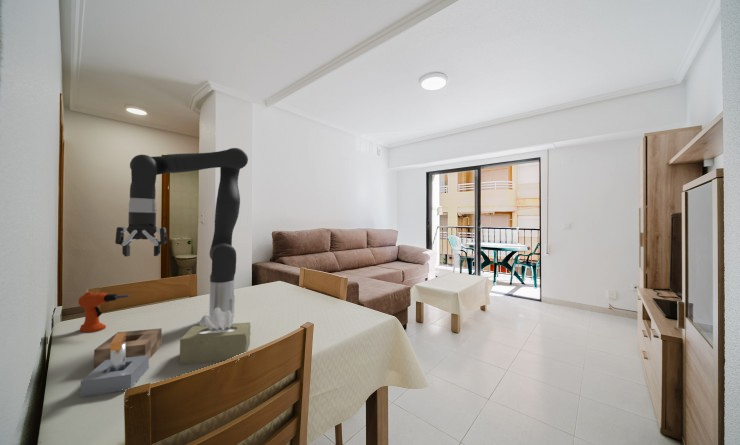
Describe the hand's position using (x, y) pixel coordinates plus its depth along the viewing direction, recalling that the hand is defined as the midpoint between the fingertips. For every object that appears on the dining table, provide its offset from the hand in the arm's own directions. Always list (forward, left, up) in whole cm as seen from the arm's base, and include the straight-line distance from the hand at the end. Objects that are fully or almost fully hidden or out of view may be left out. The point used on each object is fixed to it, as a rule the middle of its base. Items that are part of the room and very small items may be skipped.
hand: (141, 256), depth 95 cm
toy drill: (+16, -12, -30) cm, 36 cm away
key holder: (-6, +28, -30) cm, 42 cm away
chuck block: (-3, +14, -30) cm, 33 cm away
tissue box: (-28, +19, -30) cm, 46 cm away
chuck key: (-6, +28, -30) cm, 42 cm away
